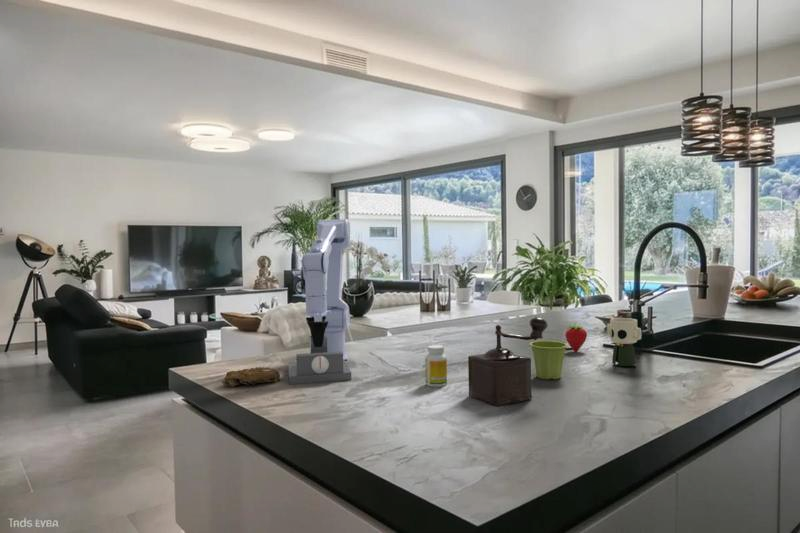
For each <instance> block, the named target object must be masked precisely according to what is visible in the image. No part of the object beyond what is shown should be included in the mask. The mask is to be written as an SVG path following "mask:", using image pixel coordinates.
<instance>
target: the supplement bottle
mask: <svg viewBox="0 0 800 533" xmlns="http://www.w3.org/2000/svg"><path fill="white" fill-rule="evenodd" d="M427 352H428V354H426V355H425V358H424V359H425V360H424V362H425V363H424V364H425V367H424V368H425V370H424V371H425V372H424V374H425V385H426V386H427V387H432V388H441V387H445V386H446V385H447V384H448V365H447V364H448V362H447V361H448V357H447V355H446V354H444V352H445V346H444V345H442V344H438V345H437V344H435V345H433V344H432V345H428V346H427Z"/></svg>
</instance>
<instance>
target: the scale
mask: <svg viewBox="0 0 800 533" xmlns="http://www.w3.org/2000/svg"><path fill="white" fill-rule="evenodd" d="M341 381H352V371H351V370H350V368H349V365H348V364H347V362H346V360H344V359H343V353H342V351H340V352H324V353H310V352H307V353H296V354H295V361H292V362H291V361H289V362H288V382H289V385H302V384H311V383H312V384H314V383H327V382H341Z"/></svg>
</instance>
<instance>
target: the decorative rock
mask: <svg viewBox="0 0 800 533" xmlns="http://www.w3.org/2000/svg"><path fill="white" fill-rule="evenodd" d="M280 377H281V374H280V372H279V371H277V370H276V369H274V368H270V367H267V366H266V367H265V366H264V367H263V366H262V367H261V366H259V367H255V368H254V367H251V368H244V369H239V370H230V371H227V372H226V374H225V376H224V379H222V381H221V384H223V386H226V387H232V388H233V387H235V386H238V385H247V386H250V385H256V384H258V383H260V384H263V383H277V382H278V380H280V379H281V378H280Z"/></svg>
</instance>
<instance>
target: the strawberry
mask: <svg viewBox="0 0 800 533" xmlns="http://www.w3.org/2000/svg"><path fill="white" fill-rule="evenodd" d="M575 324H576V323H574V325H569V326H568V329H567V330H566V331H565V334H564V335H565V340H566V342H567V343H568V346H569V347H570V348H571V349H572V350H573V351H574V352H578V351H579V350H580V349H581V347H582V346H583V345H584V343H585V342H586V340H587V336H588V334H587V333H588V332H587V330H586V329H583V326H582V325H575Z"/></svg>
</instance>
